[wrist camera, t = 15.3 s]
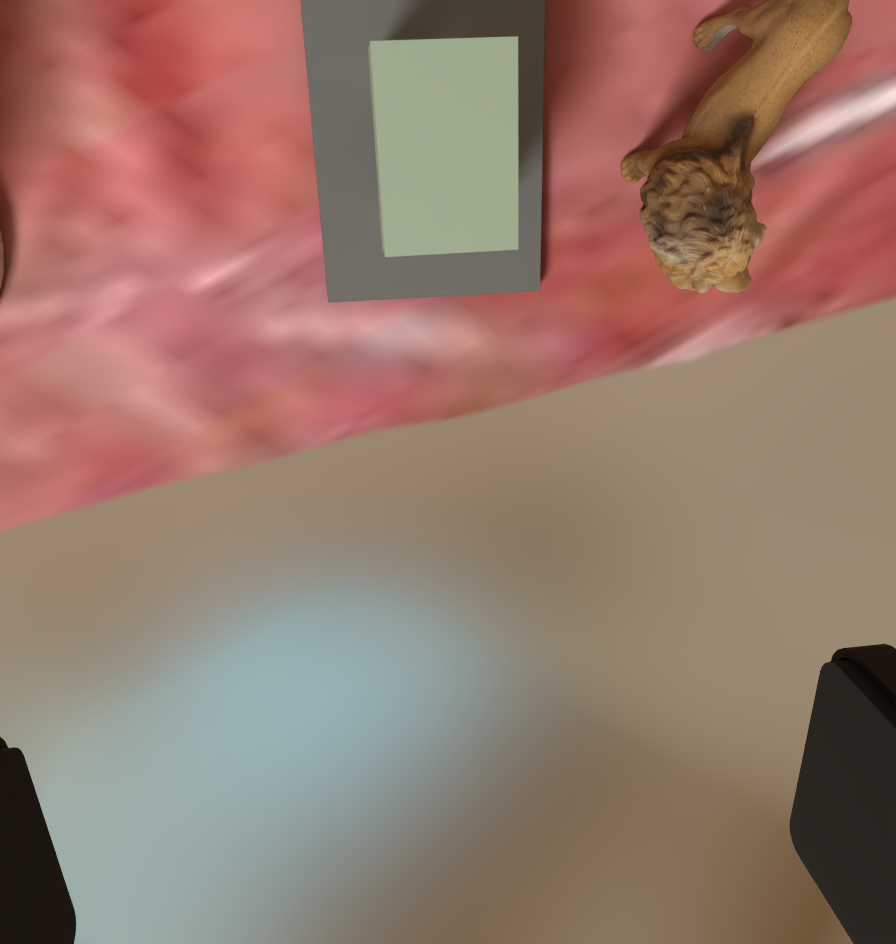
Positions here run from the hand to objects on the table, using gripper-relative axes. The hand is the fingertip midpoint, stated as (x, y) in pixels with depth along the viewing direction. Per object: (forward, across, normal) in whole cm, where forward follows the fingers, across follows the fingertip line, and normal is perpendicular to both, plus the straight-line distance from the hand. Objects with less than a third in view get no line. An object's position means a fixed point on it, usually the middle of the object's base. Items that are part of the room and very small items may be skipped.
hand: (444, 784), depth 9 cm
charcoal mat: (+30, -3, -7) cm, 31 cm away
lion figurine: (+31, -16, -7) cm, 35 cm away
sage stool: (+30, -3, -6) cm, 30 cm away
